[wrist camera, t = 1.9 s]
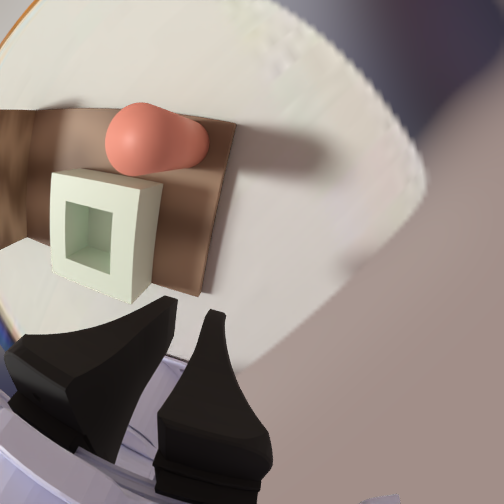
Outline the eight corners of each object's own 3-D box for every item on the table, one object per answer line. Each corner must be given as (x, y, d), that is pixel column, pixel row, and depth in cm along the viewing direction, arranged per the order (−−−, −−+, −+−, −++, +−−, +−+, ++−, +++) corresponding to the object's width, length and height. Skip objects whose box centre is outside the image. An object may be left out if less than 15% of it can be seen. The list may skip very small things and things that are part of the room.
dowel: (203, 172, 18) (160, 182, 11) (158, 163, 18) (100, 170, 11) (214, 124, 16) (177, 105, 10) (168, 117, 16) (113, 101, 10)
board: (200, 292, 22) (177, 334, 16) (22, 230, 22) (-15, 247, 16) (236, 124, 17) (217, 110, 12) (30, 111, 17) (-11, 111, 12)
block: (151, 283, 21) (131, 304, 17) (76, 257, 21) (52, 272, 18) (163, 183, 18) (140, 189, 15) (80, 168, 18) (51, 172, 15)
